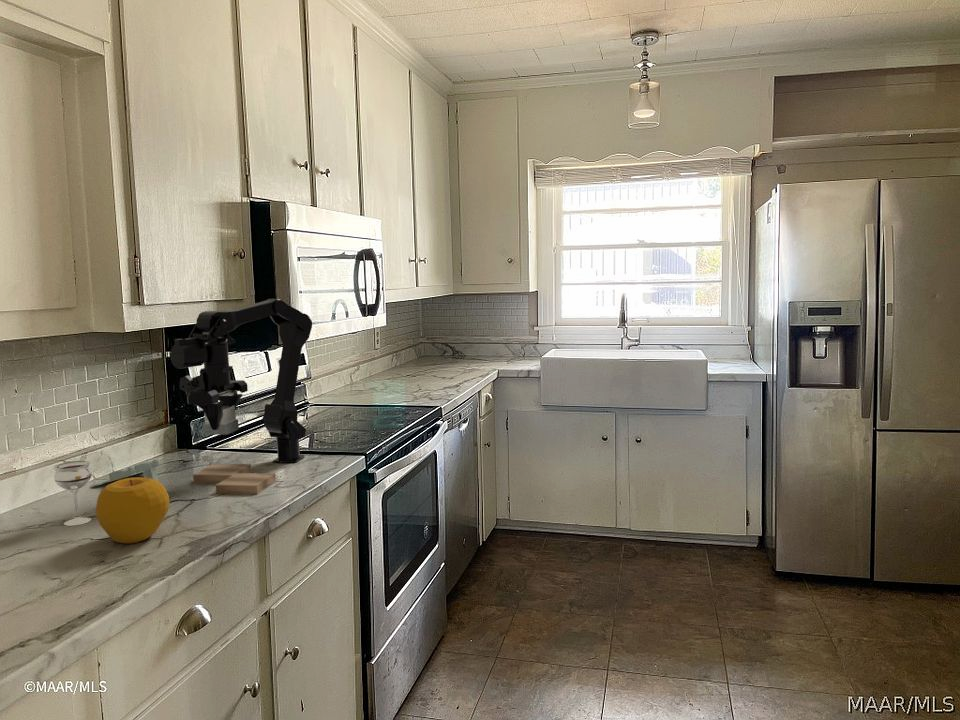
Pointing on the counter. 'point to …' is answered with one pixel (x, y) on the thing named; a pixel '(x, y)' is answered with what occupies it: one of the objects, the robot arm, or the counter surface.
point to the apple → (132, 508)
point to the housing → (223, 422)
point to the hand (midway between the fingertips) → (221, 426)
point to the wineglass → (73, 483)
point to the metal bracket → (136, 471)
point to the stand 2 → (245, 483)
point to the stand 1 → (220, 472)
